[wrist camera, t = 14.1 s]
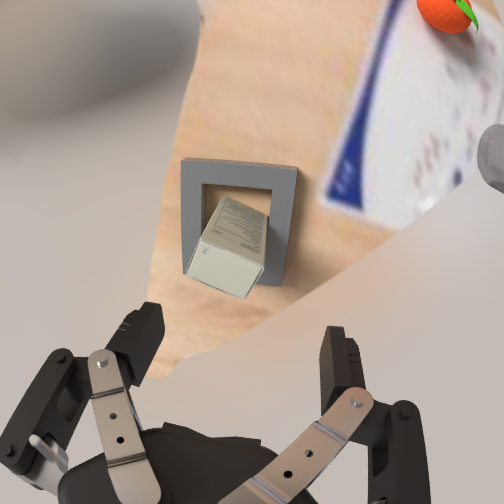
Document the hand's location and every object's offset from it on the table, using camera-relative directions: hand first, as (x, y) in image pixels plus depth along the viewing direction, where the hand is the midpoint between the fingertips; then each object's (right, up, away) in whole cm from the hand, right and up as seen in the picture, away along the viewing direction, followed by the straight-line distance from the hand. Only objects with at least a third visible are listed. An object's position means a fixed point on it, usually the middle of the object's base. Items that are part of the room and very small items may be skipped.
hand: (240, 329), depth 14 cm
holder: (-1, +8, +23) cm, 24 cm away
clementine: (+23, +32, +8) cm, 40 cm away
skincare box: (-1, +8, +23) cm, 24 cm away
